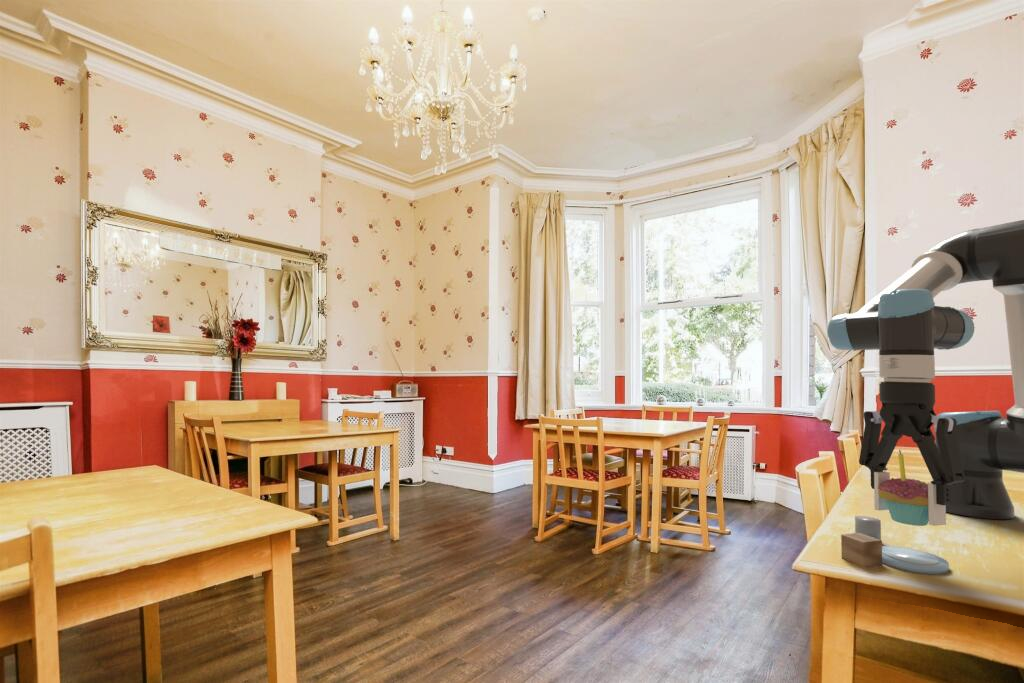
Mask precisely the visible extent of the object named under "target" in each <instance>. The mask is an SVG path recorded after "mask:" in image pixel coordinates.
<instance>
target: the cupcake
mask: <svg viewBox="0 0 1024 683" xmlns="http://www.w3.org/2000/svg"><path fill="white" fill-rule="evenodd" d="M898 451H899V452H898V453H899V454H898V456H897V457H898V464H899V473H900V477H897V478H893V477H891V478H890V480H886V481H884V482H882V483H881V484H880V485H879V486H878V489H879V490H878V495H879V496H880V498H882V499H884V501H885V503H886V505H887V507H888V510H887V511H889V514H890V518H891V519H892V521H894V522H896V523H899V524H904V525H909V526H917V527H920V526H921V527H922V526H923V527H924V526H928V525H929V510H928V483H926V482H925V481H921V480H918V479H914V478H907V476H906V469H905V460H904V454H903V453H902V450H901V449H898Z"/></svg>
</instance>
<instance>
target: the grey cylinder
mask: <svg viewBox="0 0 1024 683" xmlns="http://www.w3.org/2000/svg"><path fill="white" fill-rule="evenodd" d="M881 525H882V523H881V520H880V519H879V518H875V517H871V516H865V515H856V516H855V517H854V532H855V533H861V534H864V535H867V536H870V537H873V538H876V539H879V540H882V531H881V530H882V527H881Z"/></svg>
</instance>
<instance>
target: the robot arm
mask: <svg viewBox="0 0 1024 683" xmlns="http://www.w3.org/2000/svg"><path fill="white" fill-rule="evenodd" d="M910 267H911V268H910V269H908V270H907V271H906V272H905V273H903V274H902V275H901V276H900V277H899V278H897V279H896V280H895V281H894V282H892V283H891V284H890V285H888V286H887V287H886V288H884V289H883V290H882V291H881V292H879V293H878V294H877V295H876V296H874V297H873V298H872V299H870V300H869V301H867V303H865V304H864V305H863V306H862V307H861V308H859V309H857V310H856V311H855V312H852V313H848V312H845V313H843V314H837V315H834V316H833V317H832V318H831V319H830V320H829V322H828V325H827V328H826V329H827V332H826V333H827V337H828V339H829V342H830V344H831V345H832V347H833V348H835V349H836V350H840V351H842V350H843V351H853V352H856V351H869V350H870V351H873V350H879V352H878V355H879V356H878V357H879V358H878V362H879V366H878V369H879V370H878V371H879V373H878V374H879V378H880V379H883V381H880V382H879V383H878V385H879V386H878V387H879V393H878V394H879V395H878V396H879V401H880V402H881V408H880V410H879V411H877V410H876V411H875V410H874V411H872V410H871V411H869V410H867V411H864V412H863V420H864V429H863V433H862V434H863V436H862V442H861V446H860V452H859V460H858V462H859V464H860V465H861V466H863V467H866V468H868V470H870V487H871V489H873V490H874V510H875V511H880V512H881V511H889V510H888V507H887V505H886V503H885V501H884V499H882V498H880V496H879V495H878V490H879V489H878V486H879V485H880V484H881V483H882V482H884V481H886V480H890V479H891V474H890V473H891V472H889V471H888V470H889V469H888V468H887V466H888V464H889V462H890V458H891V457H892V455H893V453H894V450H895V448H896V445H897V444H898V443H899V442H898V441H899V440H901V439H902V437H903V436H905V437H907V438H911V439H912V440H911V441H913V442H914V443H915V444H916V446H917V448H918V449H919V453H920V455H921V457H922V458H923V461H924V463H925V466H926V468H927V469H928V472H929V474H930V475H931V476H930V477H931V478H932V480H931V481H930V482H928V483H927V484H928V510H929V521H928V525H930V526H933V527H936V526H945V525H947V515H946V514H947V513H950V514H954V515H960V516H967V517H971V518H972V517H973V518H977V519H978V518H979V519H987V520H989V519H991V520H1010V519H1014V518H1015V506H1014V505H1013V501H1012V500H1011V497H1010V495H1009V493H1008V490H1007V488H1006V486H1005V483H1004V480H1003V478H1004V477H1003V471H1008V472H1016V473H1022V474H1024V219H1021V220H1017V221H1016V220H1015V221H1011V222H1006V223H1000V224H995V225H990V226H985V227H980V228H974V229H968V230H966V231H963V232H960V233H957V234H955V235H953V236H950V237H948V238H946V239H945V240H943V241H941V242H939V243H937V244H935V245H934V246H932V247H930V248H928V249H927V250H926V251H925V252H923V253H922V254H920V255H919V256H917V257H916V259H915V260H913V262H912V265H911V266H910ZM988 280H989V281H990V280H991V281H992V288H993V289H994V290H995V291H998V292H999V293H1001V294H1002V296H1003V301H1004V310H1005V322H1006V330H1007V340H1008V349H1009V350H1008V351H1009V357H1010V358H1009V360H1010V369H1011V378H1012V388H1013V396H1014V405H1013V406H1011V407H1010V408H1009V409H1008V410H1006V413H1005V414H1006V417H1003V415H1002V413H1001V411H999V410H982V411H981V410H980V411H979V410H978V411H952V412H941V413H939V414H936V412H935V409H934V406H935V403H936V385H934V382H932V383H931V380H934V379H936V367H935V365H936V363H935V360H936V359H935V349H937V350H954V349H959V348H961V347H964V346H965V345H966V344H967V343H969V341H970V340H971V339H972V338H973V336H974V333H975V323H974V320H973V319H972V317H971V316H970V315H969V314H968V313H966V312H965V311H963V310H960V309H957V308H955V307H951V306H940V305H939V306H938V305H935V303H936V302H935V301H934V298H935V297H936V296H938V295H939V294H940V293H941V292H945V291H949V290H951V289H953V288H954V287H956V286H957V285H960V284H964V283H971V282H980V281H988ZM883 422H884V427H883V429H882V423H883ZM932 426H933V428H934V429H933V430H934V433H933V431H932V429H931V427H932ZM880 437H881V438H880Z"/></svg>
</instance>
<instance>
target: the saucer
mask: <svg viewBox="0 0 1024 683" xmlns="http://www.w3.org/2000/svg"><path fill="white" fill-rule="evenodd" d="M883 564H884V565H886V566H888V567H892V568H894V569H898V570H902V571H905V572H911V573H917V574H924V575H944V574H947V573H949V572H950V563H949V562H948V560H946V559H944V558H943V557H941V556H938V555H936V554H933V553H929V552H927V551H924V550H919V549H915V548H910V547H903V546H895V545H882V565H883Z"/></svg>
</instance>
